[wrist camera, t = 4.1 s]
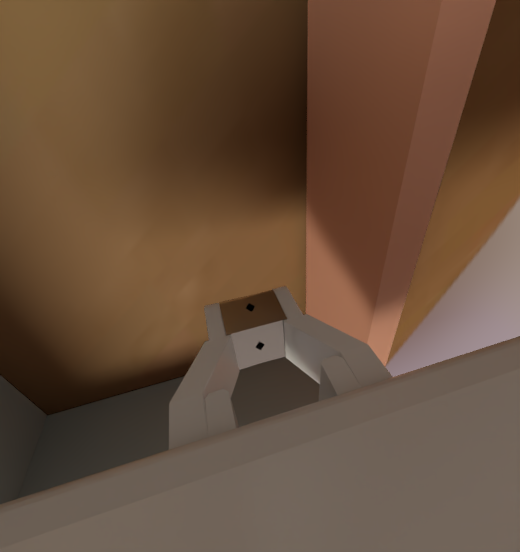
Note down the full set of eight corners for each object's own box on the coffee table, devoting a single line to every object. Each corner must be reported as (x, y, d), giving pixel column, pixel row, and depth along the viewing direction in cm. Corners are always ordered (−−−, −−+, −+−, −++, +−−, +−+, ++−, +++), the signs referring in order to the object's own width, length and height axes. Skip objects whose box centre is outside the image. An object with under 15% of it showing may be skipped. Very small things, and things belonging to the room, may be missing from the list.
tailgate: (307, -28, 9) (476, -159, 4) (342, -31, 9) (544, -159, 4) (305, 345, 20) (348, 429, 15) (321, 341, 20) (368, 422, 15)
